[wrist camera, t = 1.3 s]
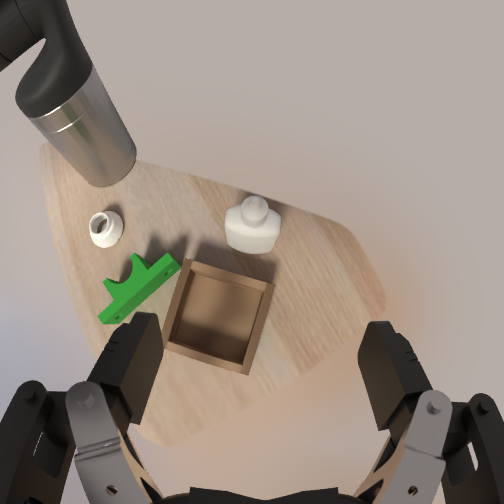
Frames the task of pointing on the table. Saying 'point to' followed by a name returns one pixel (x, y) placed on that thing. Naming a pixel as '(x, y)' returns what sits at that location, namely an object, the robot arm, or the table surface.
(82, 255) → the table surface
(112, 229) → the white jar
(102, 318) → the pipe clamp
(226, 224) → the eye dropper bottle
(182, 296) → the box
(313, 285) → the table surface
